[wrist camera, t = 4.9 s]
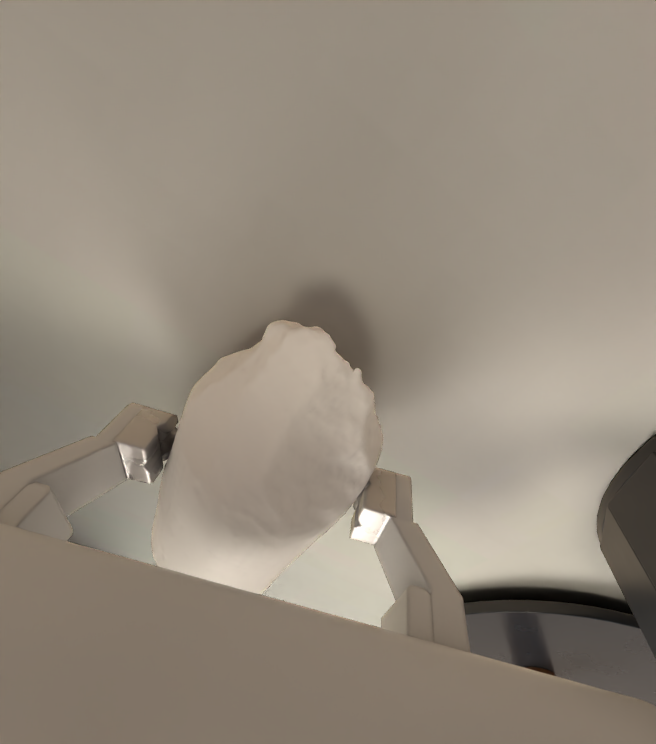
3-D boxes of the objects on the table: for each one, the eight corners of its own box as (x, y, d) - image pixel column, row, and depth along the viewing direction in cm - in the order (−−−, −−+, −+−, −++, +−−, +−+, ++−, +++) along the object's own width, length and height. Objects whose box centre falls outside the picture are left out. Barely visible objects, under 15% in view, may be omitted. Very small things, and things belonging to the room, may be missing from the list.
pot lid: (574, 710, 28) (610, 823, 23) (365, 652, 28) (359, 754, 23) (796, 646, 17) (943, 833, 13) (454, 555, 17) (475, 705, 13)
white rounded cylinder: (439, 327, 10) (474, 478, 6) (298, 508, 17) (263, 640, 13) (261, 234, 10) (141, 323, 5) (188, 462, 17) (110, 585, 12)
